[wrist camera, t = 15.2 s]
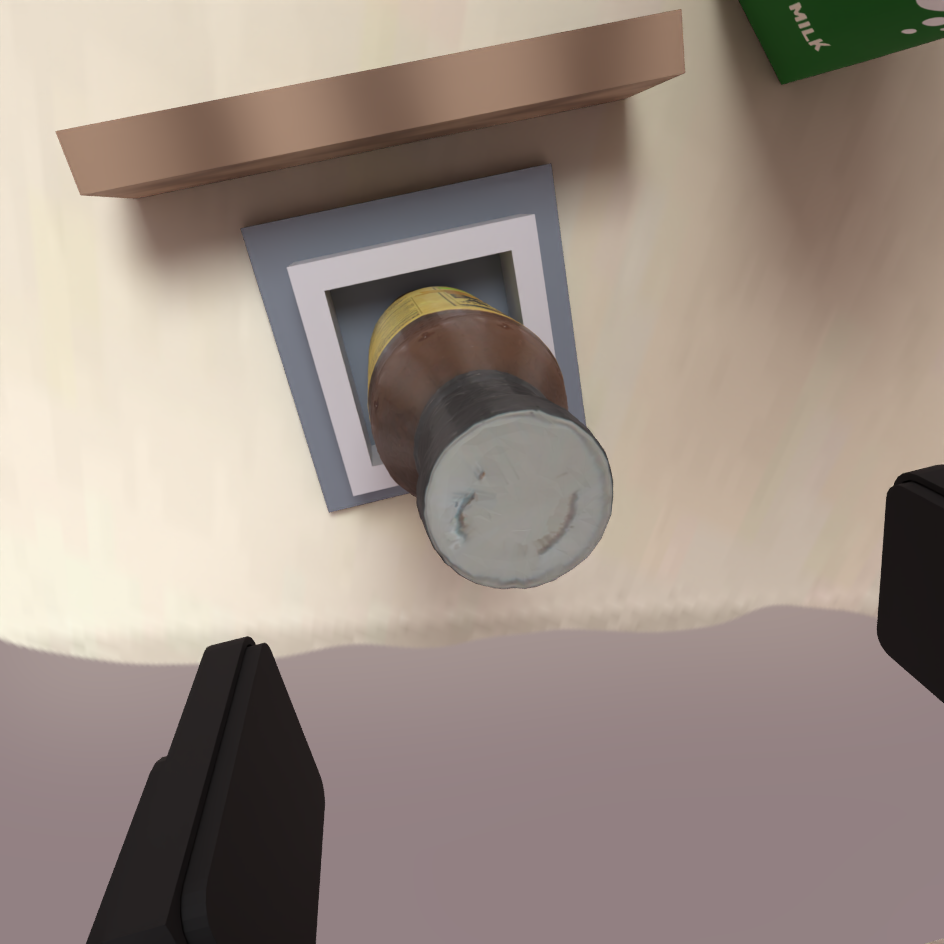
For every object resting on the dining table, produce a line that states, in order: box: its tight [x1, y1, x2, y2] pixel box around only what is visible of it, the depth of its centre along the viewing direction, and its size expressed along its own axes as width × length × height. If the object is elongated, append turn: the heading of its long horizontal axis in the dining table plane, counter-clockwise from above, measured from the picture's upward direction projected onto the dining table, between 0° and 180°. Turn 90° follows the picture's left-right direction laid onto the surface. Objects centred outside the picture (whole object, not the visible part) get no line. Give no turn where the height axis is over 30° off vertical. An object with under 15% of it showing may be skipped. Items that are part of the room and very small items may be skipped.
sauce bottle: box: [368, 286, 613, 589], centre depth 22 cm, size 6×6×20 cm
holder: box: [240, 164, 586, 512], centre depth 31 cm, size 14×14×4 cm
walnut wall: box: [56, 9, 685, 199], centre depth 26 cm, size 22×2×6 cm, turn 101°
